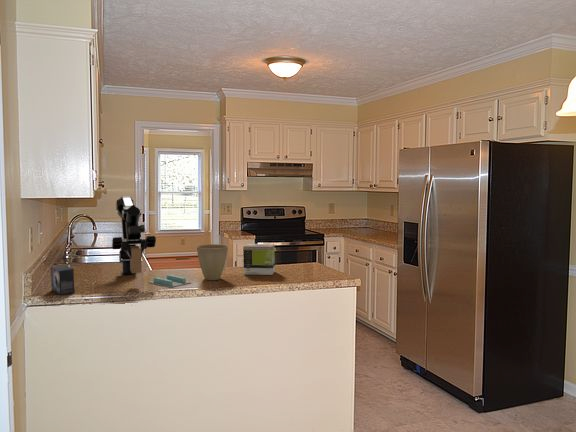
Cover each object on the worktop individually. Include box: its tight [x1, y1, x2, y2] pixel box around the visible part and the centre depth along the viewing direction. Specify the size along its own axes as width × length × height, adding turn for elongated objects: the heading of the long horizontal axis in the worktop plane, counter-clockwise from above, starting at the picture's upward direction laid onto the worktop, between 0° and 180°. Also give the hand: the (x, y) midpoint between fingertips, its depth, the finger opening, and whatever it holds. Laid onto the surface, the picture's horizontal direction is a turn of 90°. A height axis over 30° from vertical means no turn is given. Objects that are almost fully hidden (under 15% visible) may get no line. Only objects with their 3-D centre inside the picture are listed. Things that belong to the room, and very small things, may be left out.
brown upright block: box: [130, 245, 143, 274], centre depth 218 cm, size 7×4×11 cm, turn 25°
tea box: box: [242, 243, 276, 276], centre depth 250 cm, size 15×10×15 cm, turn 84°
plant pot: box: [196, 243, 229, 281], centre depth 236 cm, size 15×15×16 cm
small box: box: [50, 264, 76, 296], centre depth 208 cm, size 11×6×10 cm, turn 45°
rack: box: [147, 274, 192, 289], centre depth 226 cm, size 16×12×2 cm
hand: (136, 257), depth 217 cm, fingers closed on brown upright block, 4 cm apart
